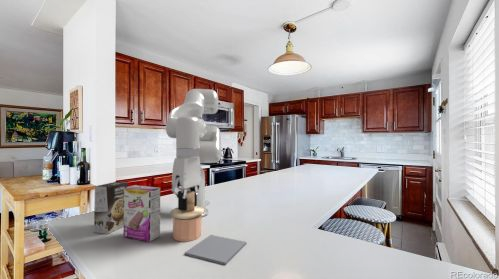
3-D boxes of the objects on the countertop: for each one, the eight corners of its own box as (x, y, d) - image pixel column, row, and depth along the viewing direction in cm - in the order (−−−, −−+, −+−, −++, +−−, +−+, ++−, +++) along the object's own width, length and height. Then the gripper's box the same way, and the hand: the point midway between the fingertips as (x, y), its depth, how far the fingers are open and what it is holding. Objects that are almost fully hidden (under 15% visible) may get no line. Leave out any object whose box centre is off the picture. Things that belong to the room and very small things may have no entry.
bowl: (185, 228, 81) (185, 209, 81) (206, 232, 78) (206, 213, 78) (167, 238, 73) (167, 217, 73) (189, 243, 70) (189, 221, 70)
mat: (210, 236, 75) (210, 234, 75) (246, 243, 70) (246, 241, 70) (184, 254, 63) (184, 252, 63) (225, 264, 58) (225, 262, 58)
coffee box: (109, 234, 76) (109, 186, 76) (93, 232, 78) (93, 185, 78) (128, 224, 85) (129, 181, 85) (114, 223, 87) (114, 181, 87)
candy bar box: (122, 237, 74) (122, 187, 74) (134, 232, 78) (134, 184, 79) (149, 243, 70) (150, 190, 70) (160, 236, 75) (161, 187, 75)
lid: (185, 206, 83) (185, 187, 83) (209, 210, 79) (209, 190, 79) (163, 215, 73) (163, 194, 73) (190, 220, 69) (190, 198, 69)
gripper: (194, 151, 85) (194, 200, 85) (160, 154, 70) (160, 213, 70) (211, 152, 82) (211, 202, 82) (179, 155, 67) (179, 217, 67)
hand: (187, 207), depth 76 cm, fingers closed on lid, 4 cm apart
